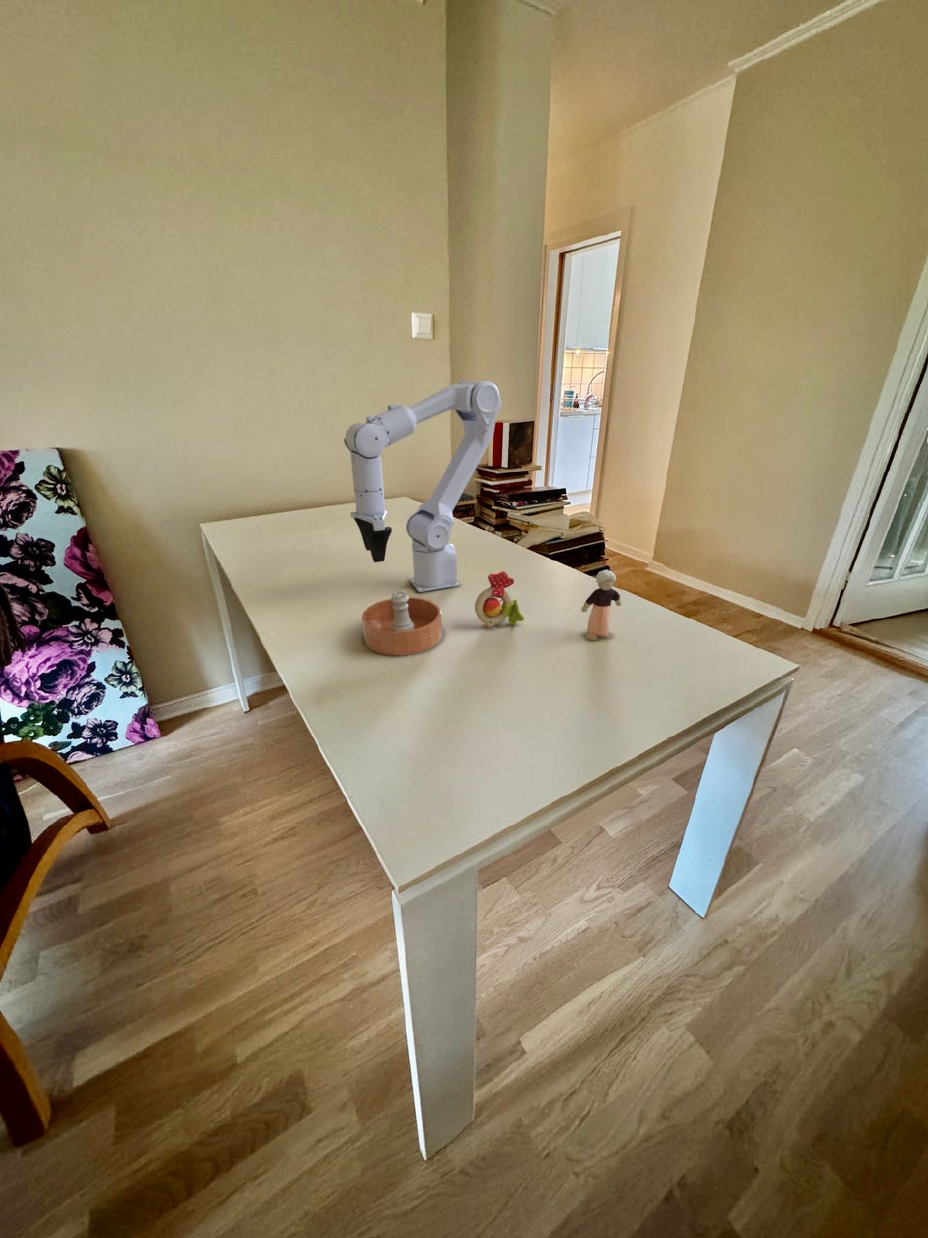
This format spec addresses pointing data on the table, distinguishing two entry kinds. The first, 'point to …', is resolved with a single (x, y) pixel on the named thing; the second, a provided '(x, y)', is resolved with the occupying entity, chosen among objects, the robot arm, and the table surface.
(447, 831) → the table surface
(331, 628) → the table surface
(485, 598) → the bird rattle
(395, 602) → the rook chess piece
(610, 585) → the grandmother figurine
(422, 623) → the pan
